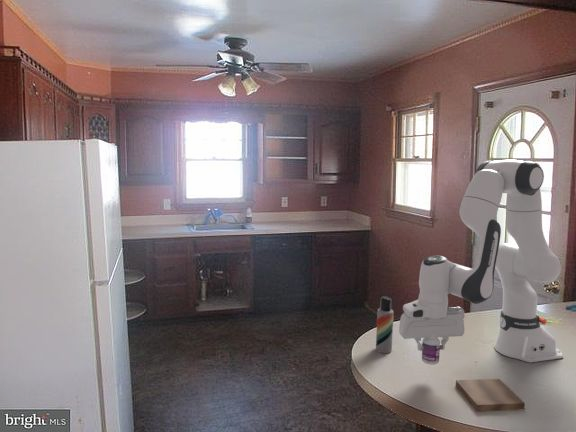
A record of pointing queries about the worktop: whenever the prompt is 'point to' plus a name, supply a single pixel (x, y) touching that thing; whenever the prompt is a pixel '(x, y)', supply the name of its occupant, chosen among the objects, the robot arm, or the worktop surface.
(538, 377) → the worktop surface
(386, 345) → the lotion bottle
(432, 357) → the pill bottle
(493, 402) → the walnut board
